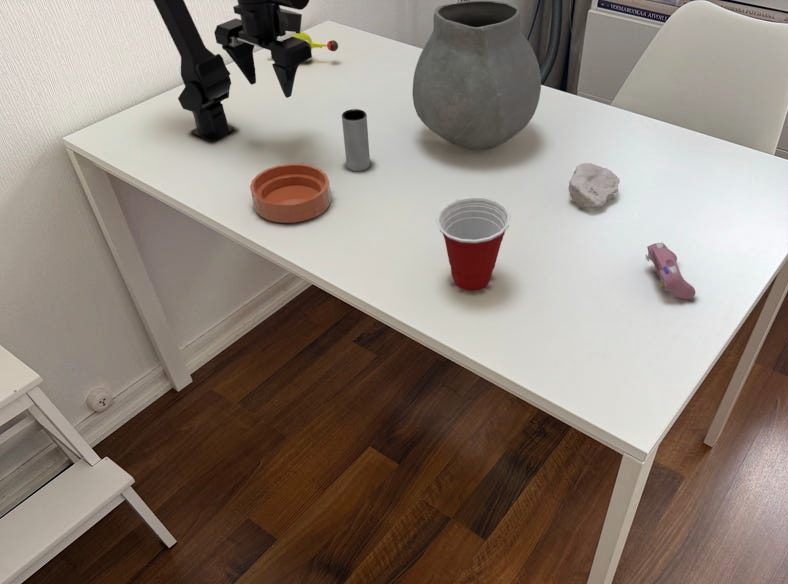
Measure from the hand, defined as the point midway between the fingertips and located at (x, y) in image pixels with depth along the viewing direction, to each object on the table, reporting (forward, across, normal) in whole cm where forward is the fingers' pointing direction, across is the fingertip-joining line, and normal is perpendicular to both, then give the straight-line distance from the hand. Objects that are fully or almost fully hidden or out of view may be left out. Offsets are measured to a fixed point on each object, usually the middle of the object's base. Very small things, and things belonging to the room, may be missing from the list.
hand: (270, 90), depth 123 cm
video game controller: (+13, -77, -8) cm, 79 cm away
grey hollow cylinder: (+13, -15, -6) cm, 21 cm away
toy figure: (+13, +28, -35) cm, 47 cm away
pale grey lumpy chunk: (+13, -56, -23) cm, 62 cm away
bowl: (+13, -14, +11) cm, 22 cm away
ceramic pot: (+13, -27, -28) cm, 41 cm away
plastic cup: (+13, -52, +10) cm, 55 cm away
